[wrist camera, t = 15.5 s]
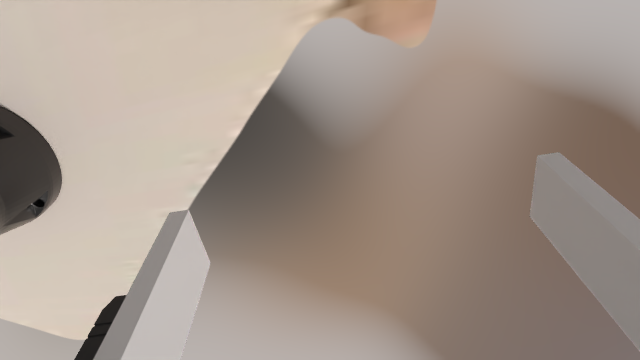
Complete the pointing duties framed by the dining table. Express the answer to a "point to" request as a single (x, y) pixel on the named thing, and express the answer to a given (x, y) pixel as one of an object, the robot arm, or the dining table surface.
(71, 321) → the dining table surface
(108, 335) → the robot arm
